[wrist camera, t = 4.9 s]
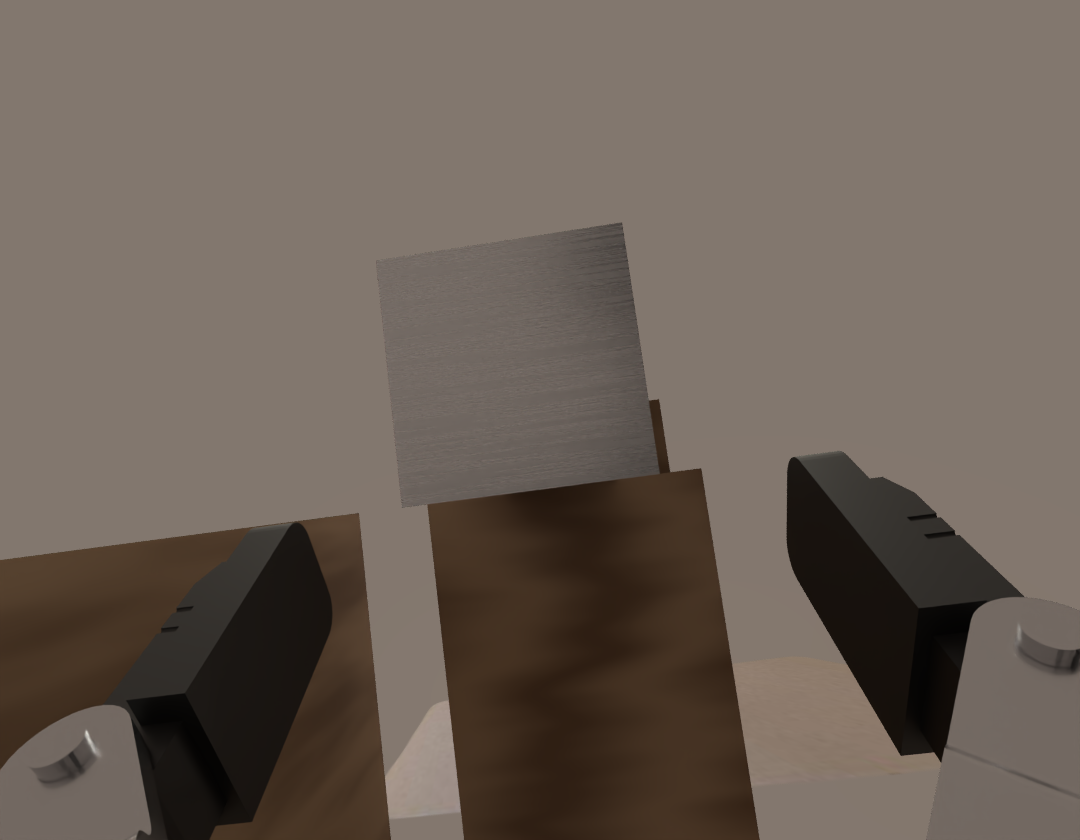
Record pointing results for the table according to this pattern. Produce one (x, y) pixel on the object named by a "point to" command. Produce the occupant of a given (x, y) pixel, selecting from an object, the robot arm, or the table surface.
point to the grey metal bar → (515, 367)
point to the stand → (455, 664)
